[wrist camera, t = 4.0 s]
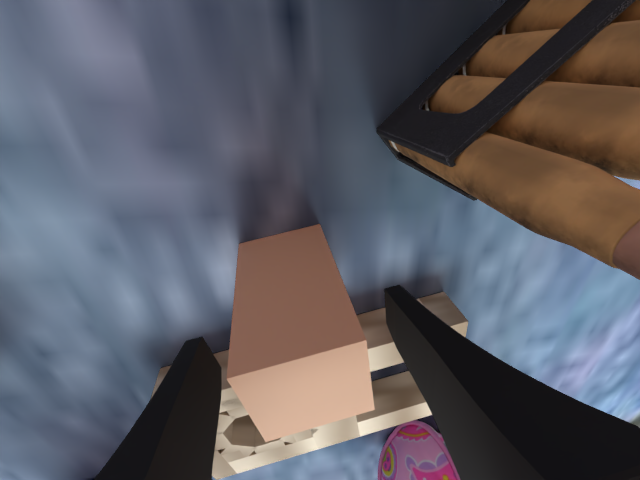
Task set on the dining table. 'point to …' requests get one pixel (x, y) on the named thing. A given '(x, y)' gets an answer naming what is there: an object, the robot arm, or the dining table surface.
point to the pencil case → (416, 455)
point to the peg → (295, 336)
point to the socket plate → (390, 410)
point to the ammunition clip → (539, 122)
